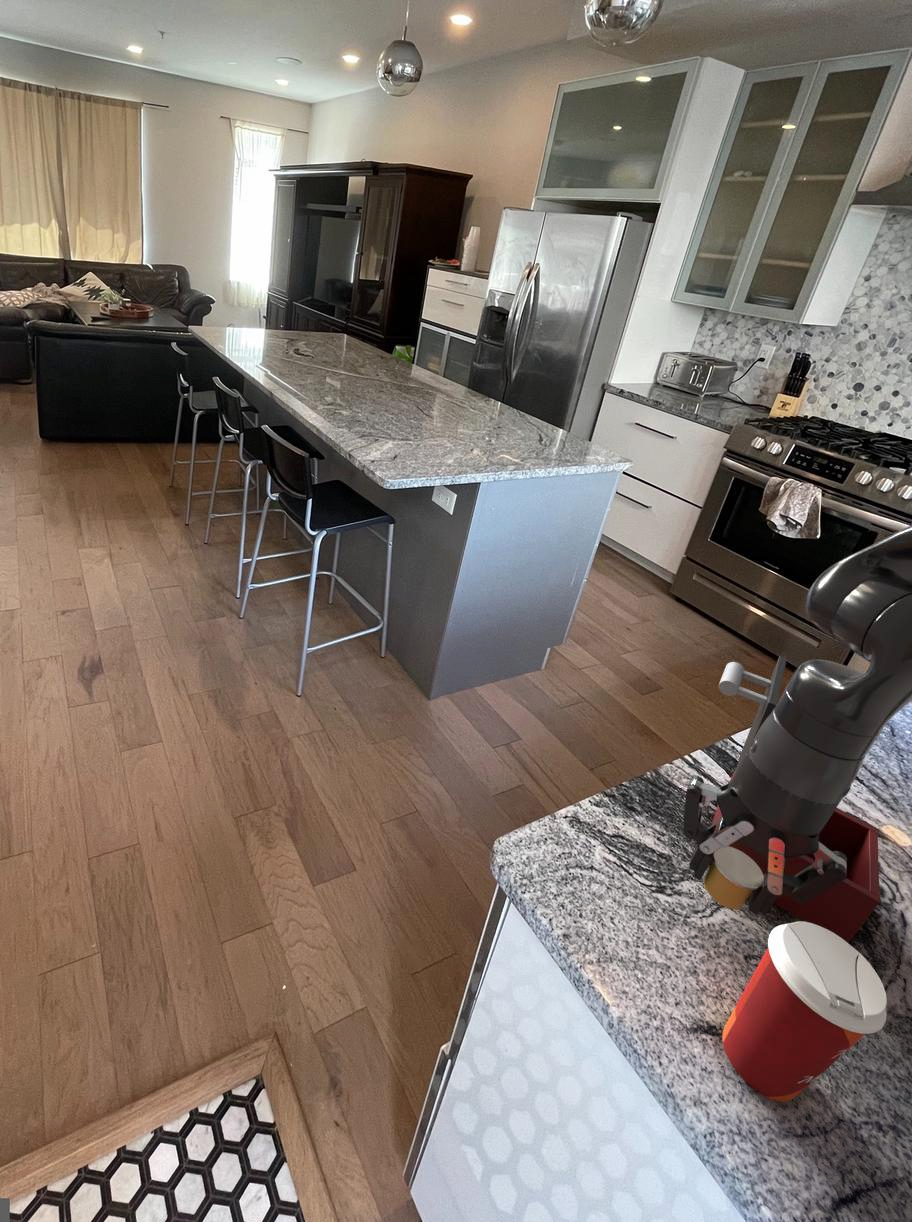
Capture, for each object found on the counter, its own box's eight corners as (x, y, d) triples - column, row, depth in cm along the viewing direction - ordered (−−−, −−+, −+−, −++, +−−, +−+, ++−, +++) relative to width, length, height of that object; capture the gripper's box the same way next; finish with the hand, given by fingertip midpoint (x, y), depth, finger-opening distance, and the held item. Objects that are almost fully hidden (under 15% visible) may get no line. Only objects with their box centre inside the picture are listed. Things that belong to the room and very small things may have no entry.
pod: (751, 891, 65) (766, 866, 64) (745, 923, 62) (761, 897, 60) (703, 862, 68) (717, 837, 66) (695, 891, 64) (709, 866, 63)
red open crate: (844, 876, 73) (877, 829, 69) (841, 951, 64) (880, 902, 61) (716, 804, 80) (741, 758, 77) (698, 863, 71) (726, 815, 68)
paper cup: (821, 1143, 49) (915, 1044, 43) (714, 1093, 51) (791, 992, 45) (792, 1036, 56) (869, 938, 50) (699, 995, 58) (763, 897, 52)
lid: (787, 657, 71) (736, 639, 74) (776, 705, 62) (719, 682, 65) (746, 757, 76) (700, 737, 79) (731, 814, 68) (680, 789, 71)
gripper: (890, 790, 57) (807, 911, 64) (718, 707, 64) (660, 824, 71) (894, 842, 51) (802, 969, 58) (705, 745, 59) (643, 868, 66)
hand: (724, 888), depth 65 cm, fingers closed on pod, 4 cm apart
